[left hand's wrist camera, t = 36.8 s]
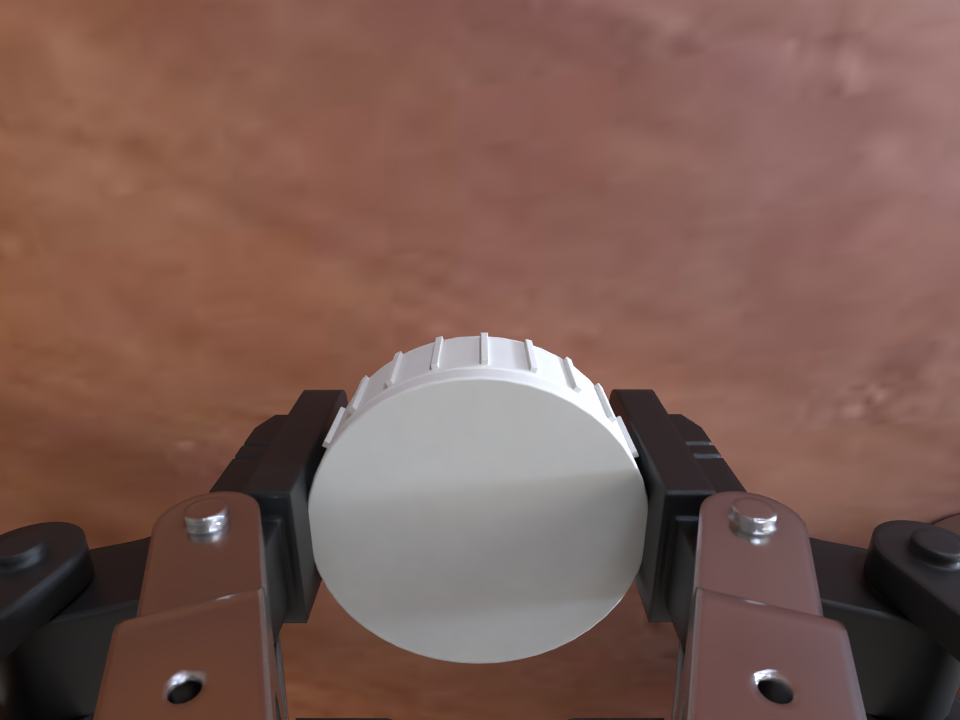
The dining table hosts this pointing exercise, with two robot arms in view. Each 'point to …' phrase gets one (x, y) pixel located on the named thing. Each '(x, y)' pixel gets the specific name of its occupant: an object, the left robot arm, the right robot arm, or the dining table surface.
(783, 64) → the dining table surface
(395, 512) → the lid
